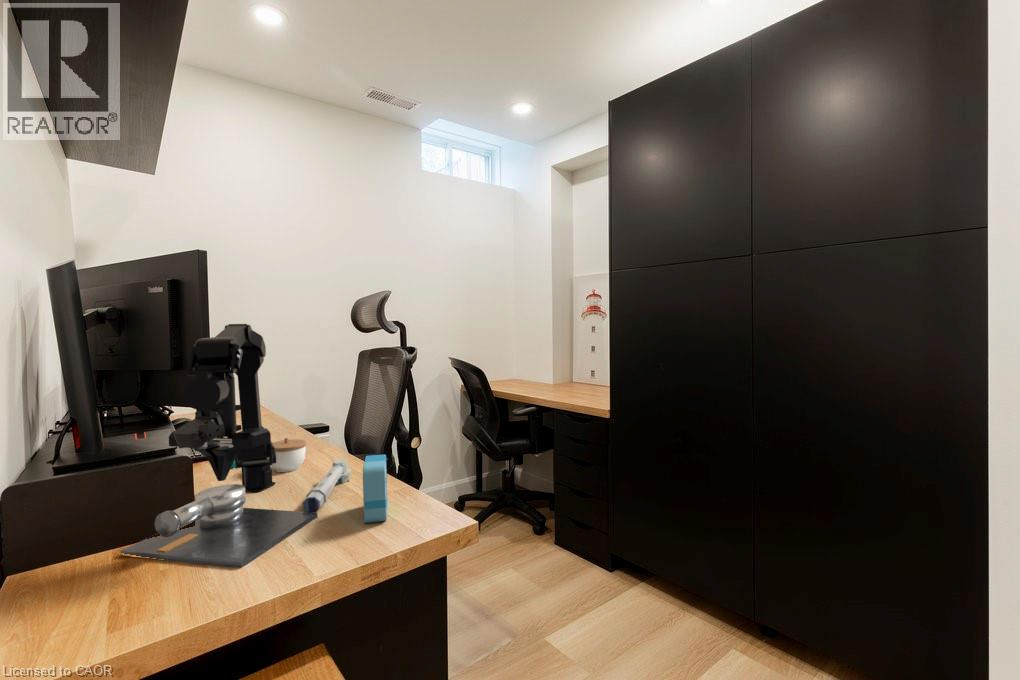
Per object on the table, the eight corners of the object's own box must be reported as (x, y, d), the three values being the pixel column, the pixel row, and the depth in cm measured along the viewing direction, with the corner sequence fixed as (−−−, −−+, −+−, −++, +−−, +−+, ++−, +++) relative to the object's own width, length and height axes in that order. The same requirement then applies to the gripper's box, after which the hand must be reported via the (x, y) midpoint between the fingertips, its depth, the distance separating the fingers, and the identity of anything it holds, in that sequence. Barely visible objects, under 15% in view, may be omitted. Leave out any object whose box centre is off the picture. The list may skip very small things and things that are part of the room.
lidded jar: (296, 474, 135) (295, 442, 134) (259, 475, 135) (258, 442, 135) (313, 463, 145) (312, 433, 145) (278, 464, 146) (277, 434, 145)
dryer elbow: (219, 500, 105) (218, 480, 105) (255, 501, 104) (254, 481, 104) (144, 535, 88) (143, 511, 87) (187, 538, 86) (186, 513, 86)
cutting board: (120, 556, 87) (119, 534, 87) (217, 510, 109) (216, 493, 109) (241, 567, 82) (240, 545, 82) (317, 517, 103) (316, 499, 103)
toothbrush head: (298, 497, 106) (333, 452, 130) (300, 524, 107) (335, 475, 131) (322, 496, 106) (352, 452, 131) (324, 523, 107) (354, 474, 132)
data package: (386, 523, 100) (384, 467, 99) (364, 525, 99) (362, 469, 98) (387, 502, 111) (386, 452, 111) (367, 505, 110) (366, 454, 110)
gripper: (140, 408, 86) (143, 492, 87) (227, 409, 83) (230, 497, 83) (192, 399, 97) (195, 473, 98) (271, 399, 94) (274, 477, 94)
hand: (221, 480), depth 93 cm, fingers closed
